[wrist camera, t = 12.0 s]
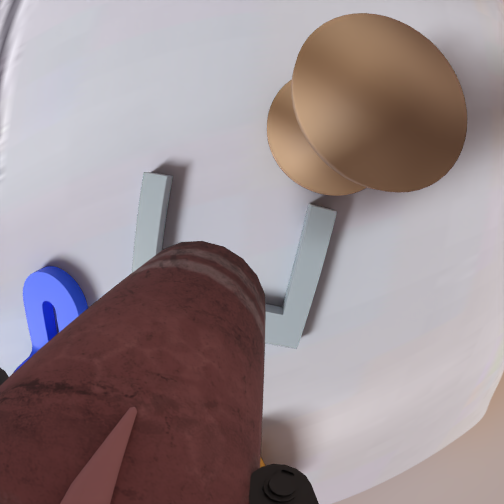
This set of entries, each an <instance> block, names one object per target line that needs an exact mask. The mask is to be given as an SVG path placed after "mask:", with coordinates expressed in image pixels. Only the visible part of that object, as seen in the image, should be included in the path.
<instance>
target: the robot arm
mask: <svg viewBox="0 0 504 504" xmlns="http://www.w3.org/2000/svg"><path fill="white" fill-rule="evenodd" d="M8 378H9V377H8V375H7V374H6V372H5V371H4V370H2V369H1V368H0V385H2V384H3V383H4V382H5V381H6V380H7V379H8ZM249 502H250V504H319V503H318V501H317V498H316V496H315V493H314V490H313V488H312V485H311V483H310V482H309V480H308V479H307V477H306V476H305V475H304V474H303V473H301V472H300V471H299V470H297V469H295V468H292V467H290V466H287V465H280V464H271V465H267V466H262V467H261V468H259V469H257V470H256V471H254V472H253V473H252V475H251V477H250V490H249Z"/></svg>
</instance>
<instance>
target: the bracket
mask: <svg viewBox="0 0 504 504" xmlns="http://www.w3.org/2000/svg"><path fill="white" fill-rule="evenodd" d="M23 300H24V306H25V312H26V317H27V322H28V327H29V332H30V336H31V341H32V352H31V354H30V356H29V357H28V358H27V359H26V360H25V361H24V362H23V363H22V364H21V365H20V366H19V367H18V368H17V369H16V370H18V369H19V368H20V367H21V366H22V365H23V364H24V363H25V362H26V361H27V360H28V359H30V358H31V357H32V356H33V355H34V354H35V353H36V352H37V351H38V350H40V349H41V348H42V347H43V346H44V345H45V344H46V343H48V342H49V341H50V340H51V339H52V338H53V337H54V336H56V335H57V330H56V324H55V318H54V311H53V306H54V308H55V310H56V316H57V322H58V328H59V332H60V331H61V330H63V329H64V328H65V327H66V326H67V325H69V324H70V323H71V322H72V321H73V320H74V319H76V318H77V317H78V316H79V315H80V314H82V313H83V312H84V311H85V310H86V309H88V305H87V302H86V299H85V296H84V294H83V292H82V290H81V288H80V287H79V285H78V284H77V282H76V281H75V280H74V279H73V278H72V277H71V276H70V275H69V274H68V273H67V272H65V271H64V270H62V269H60V268H58V267H54V266H47V267H44V268H42V269H40V270H38V271H36V272H34V273H32V274H31V275H29V276H28V278H27V279H26V281H25V283H24V287H23ZM16 370H15V371H16ZM15 371H14V372H15Z"/></svg>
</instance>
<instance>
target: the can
mask: <svg viewBox="0 0 504 504" xmlns="http://www.w3.org/2000/svg"><path fill="white" fill-rule="evenodd" d="M265 321H266V310H265V294H264V291H263V289H262V287H261V284H260V282H259V279H258V277H257V275H256V274H255V273H254V271H253V270H252V269H251V268H250V267H249V265H248V264H247V263H246V262H245V261H244V260H243V259H242V258H241V257H239V256H238V255H236V254H234V253H233V252H231V251H230V250H228V249H227V248H225V247H223V246H219V245H215V244H211V243H208V242H204V241H194V242H181V243H178V244H176V245H173V246H171V247H168V248H166V249H163V250H162V251H160V252H159V253H158V254H156V255H155V256H154V257H152V258H151V259H150V260H148V261H147V262H146V263H145V264H143V265H142V266H141V267H139V268H138V269H137V270H135V271H134V272H133V273H132V274H130V275H129V276H128V277H126V278H125V279H124V280H123V281H121V282H120V283H119V284H117V285H116V286H115V287H114V288H112V289H111V290H110V291H109V292H107V293H106V294H105V295H104V296H102V297H101V298H100V299H99V300H97V301H96V302H95V303H94V304H93V305H91V306H90V307H89V308H88V309H86V310H85V311H84V312H83V313H82V314H80V315H79V316H78V317H77V318H76V319H74V320H73V321H72V322H71V323H70V324H69V325H67V326H66V327H65V328H64V329H63V330H61V331H60V332H59V333H58V334H57V335H56V336H54V337H53V338H52V339H51V340H50V341H49V342H48V343H46V344H45V345H44V346H43V347H42V348H41V349H40V350H38V351H37V352H36V353H35V354H34V355H33V356H32V357H31V358H30V359H28V360H27V361H26V362H25V363H24V364H23V365H22V366H21V367H20V368H19V369H18V370H16V371H15V372H14V373H13V374H12V375H11V376H10V377H9V378H8V379H7V380H6V381H5V382H4V383H3V384H2V385H0V504H250V502H249V490H250V477H251V475H252V473H253V472H254V471H256V470H257V469H259V468H260V457H261V434H262V410H263V384H264V354H265Z"/></svg>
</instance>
